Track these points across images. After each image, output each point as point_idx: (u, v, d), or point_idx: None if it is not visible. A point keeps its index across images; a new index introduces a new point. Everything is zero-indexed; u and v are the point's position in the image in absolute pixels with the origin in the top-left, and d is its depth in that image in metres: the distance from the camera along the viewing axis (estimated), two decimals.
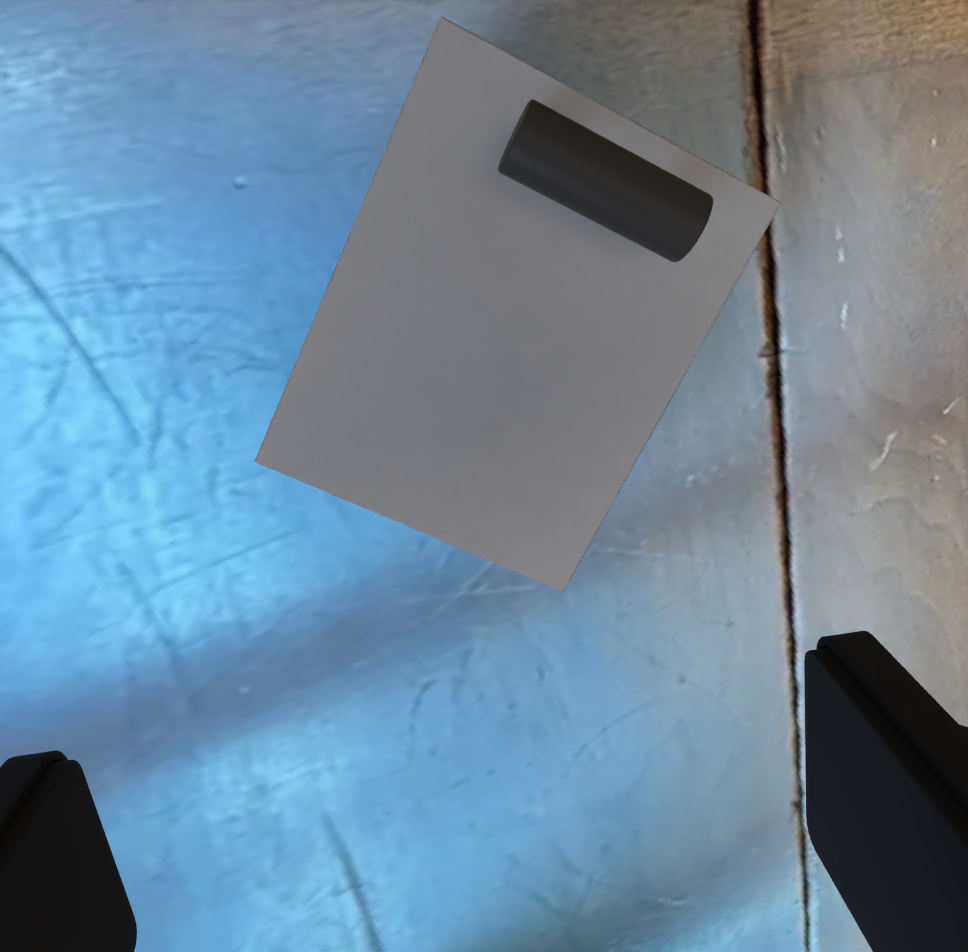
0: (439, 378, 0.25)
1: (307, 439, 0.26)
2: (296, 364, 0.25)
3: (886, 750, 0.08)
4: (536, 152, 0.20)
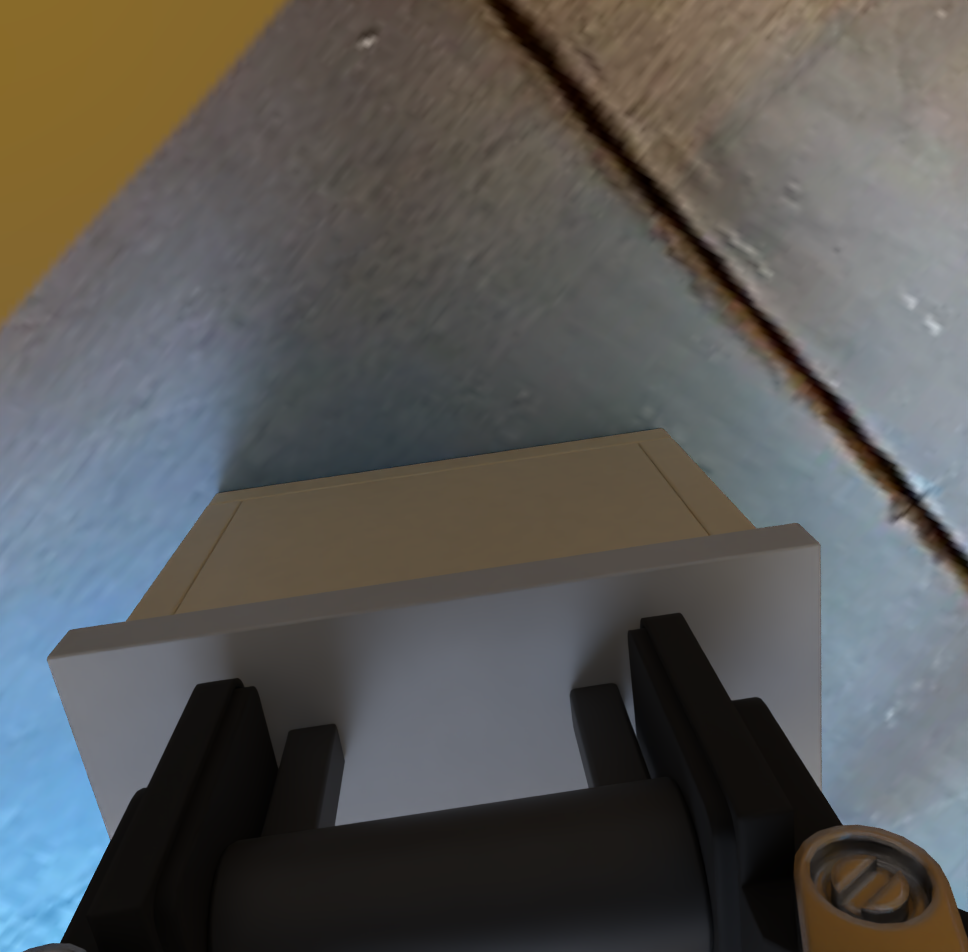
0: None
1: None
2: None
3: (664, 716, 0.09)
4: None
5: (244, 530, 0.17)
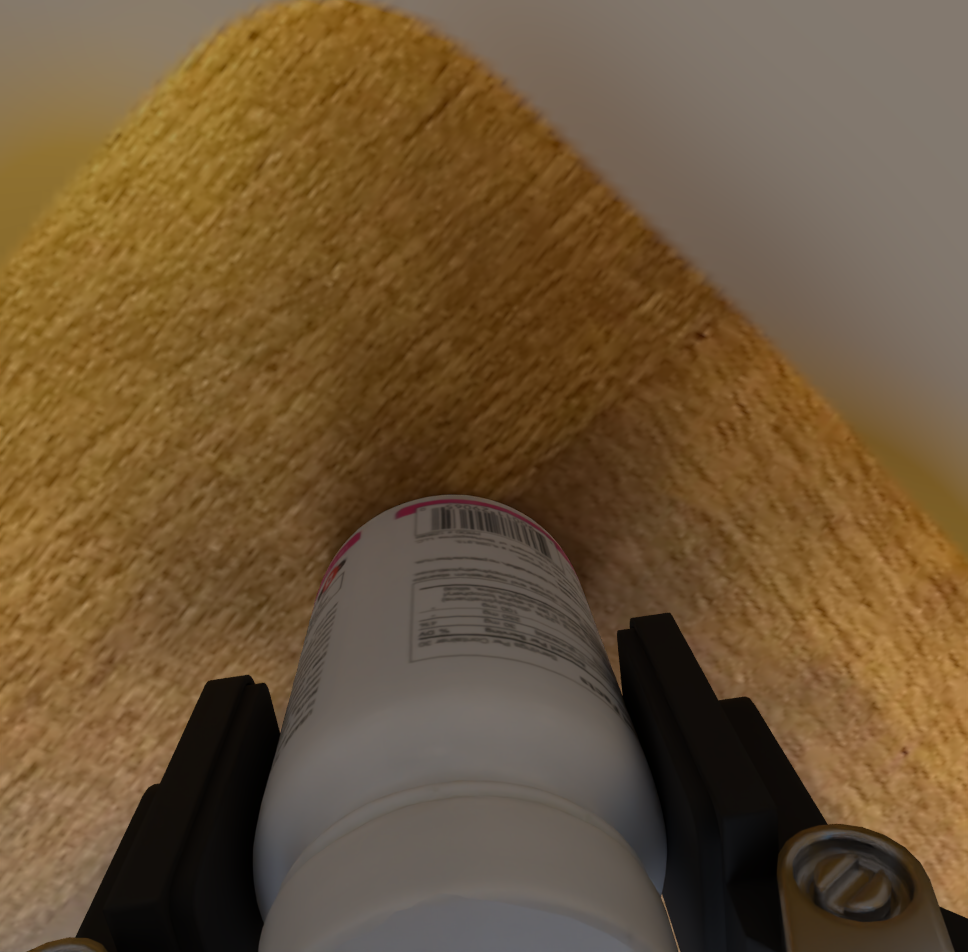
0: None
1: None
2: None
3: (652, 715, 0.09)
4: None
5: None
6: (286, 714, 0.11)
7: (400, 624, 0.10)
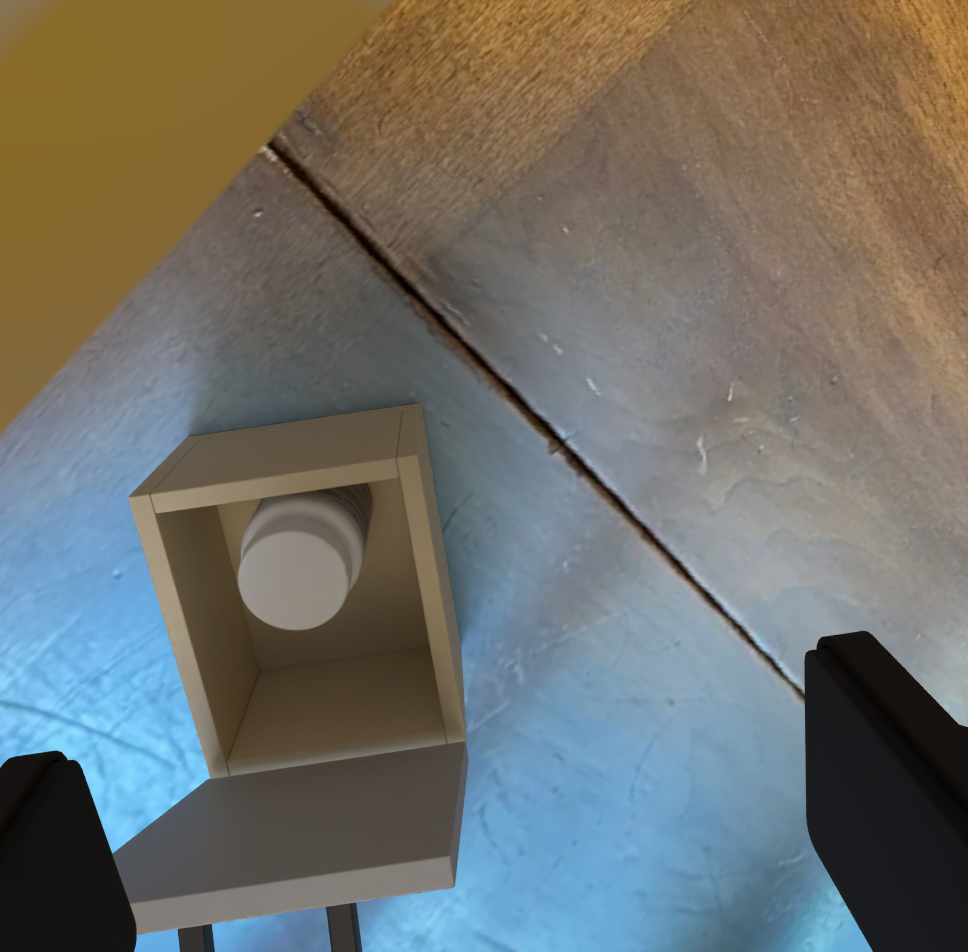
0: None
1: None
2: None
3: (886, 750, 0.08)
4: None
5: (198, 450, 0.35)
6: None
7: None
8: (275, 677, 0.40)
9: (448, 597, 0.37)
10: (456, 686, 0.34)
